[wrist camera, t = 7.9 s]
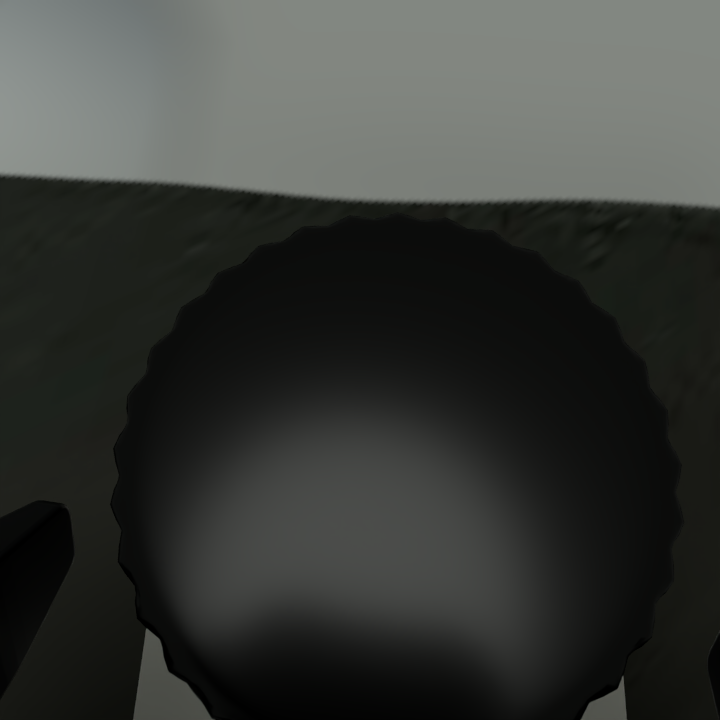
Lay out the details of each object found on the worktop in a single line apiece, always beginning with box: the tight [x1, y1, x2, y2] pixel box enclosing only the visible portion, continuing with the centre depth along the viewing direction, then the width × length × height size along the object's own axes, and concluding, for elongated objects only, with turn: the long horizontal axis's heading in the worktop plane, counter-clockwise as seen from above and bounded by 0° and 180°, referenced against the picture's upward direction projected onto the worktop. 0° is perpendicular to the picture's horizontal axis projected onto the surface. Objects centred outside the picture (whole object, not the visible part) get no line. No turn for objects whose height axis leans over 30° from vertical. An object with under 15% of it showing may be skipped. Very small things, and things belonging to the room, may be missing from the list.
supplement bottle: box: [110, 212, 684, 720], centre depth 11 cm, size 7×7×12 cm
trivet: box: [133, 628, 627, 720], centre depth 17 cm, size 12×12×1 cm
